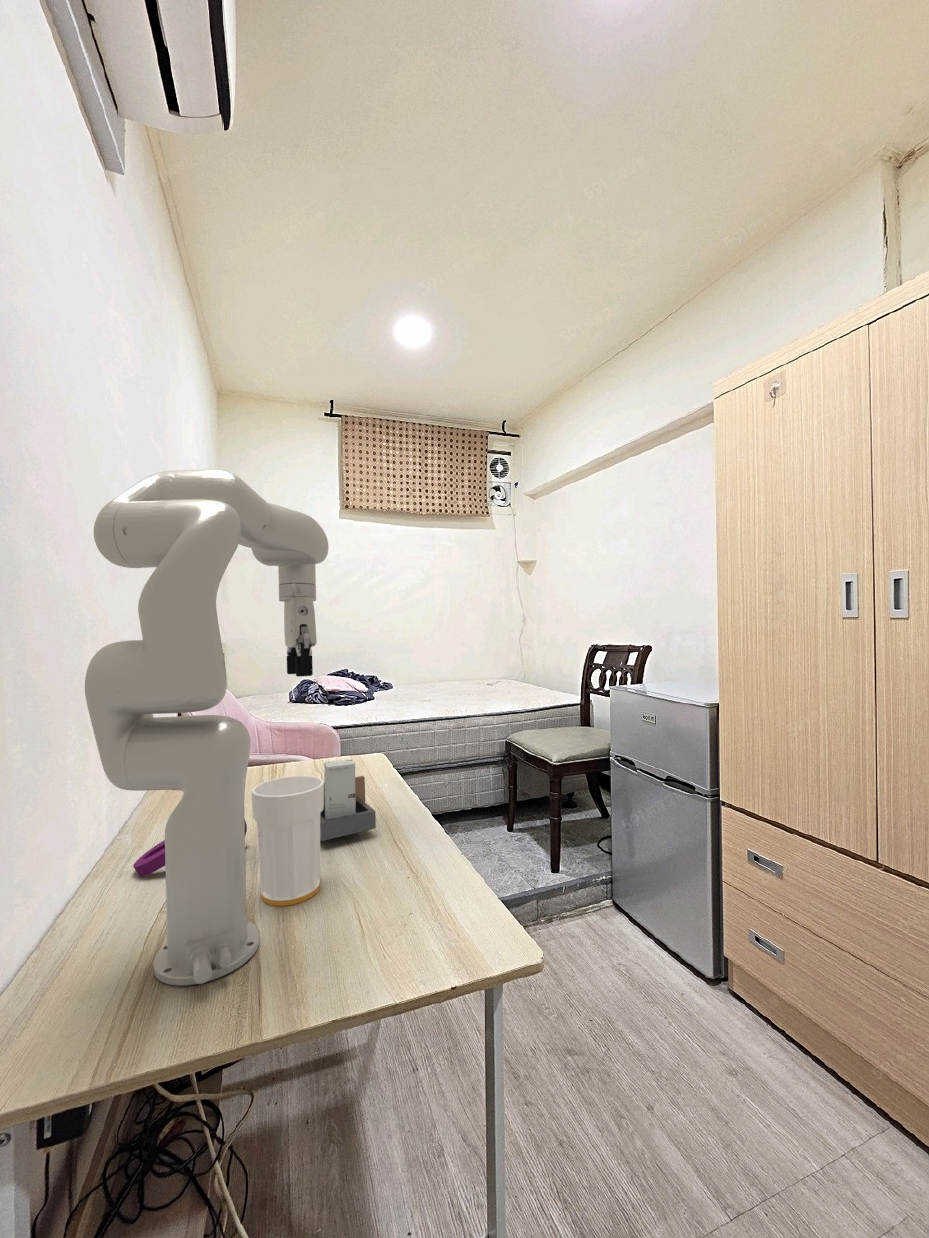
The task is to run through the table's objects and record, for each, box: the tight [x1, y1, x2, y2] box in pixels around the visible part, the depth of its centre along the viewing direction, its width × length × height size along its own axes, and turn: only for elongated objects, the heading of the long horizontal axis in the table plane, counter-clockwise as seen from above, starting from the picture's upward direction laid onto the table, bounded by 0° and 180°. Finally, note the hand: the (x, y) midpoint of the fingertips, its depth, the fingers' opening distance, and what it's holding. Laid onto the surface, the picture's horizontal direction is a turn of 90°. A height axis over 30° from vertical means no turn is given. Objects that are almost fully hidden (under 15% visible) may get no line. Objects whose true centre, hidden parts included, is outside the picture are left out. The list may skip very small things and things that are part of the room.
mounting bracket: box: [132, 818, 248, 878], centre depth 96 cm, size 9×8×18 cm
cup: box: [251, 775, 324, 907], centre depth 85 cm, size 11×11×17 cm
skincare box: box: [323, 759, 356, 820], centre depth 107 cm, size 6×4×12 cm
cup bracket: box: [320, 775, 377, 842], centre depth 108 cm, size 14×16×9 cm
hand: (299, 674), depth 108 cm, fingers open, 9 cm apart
